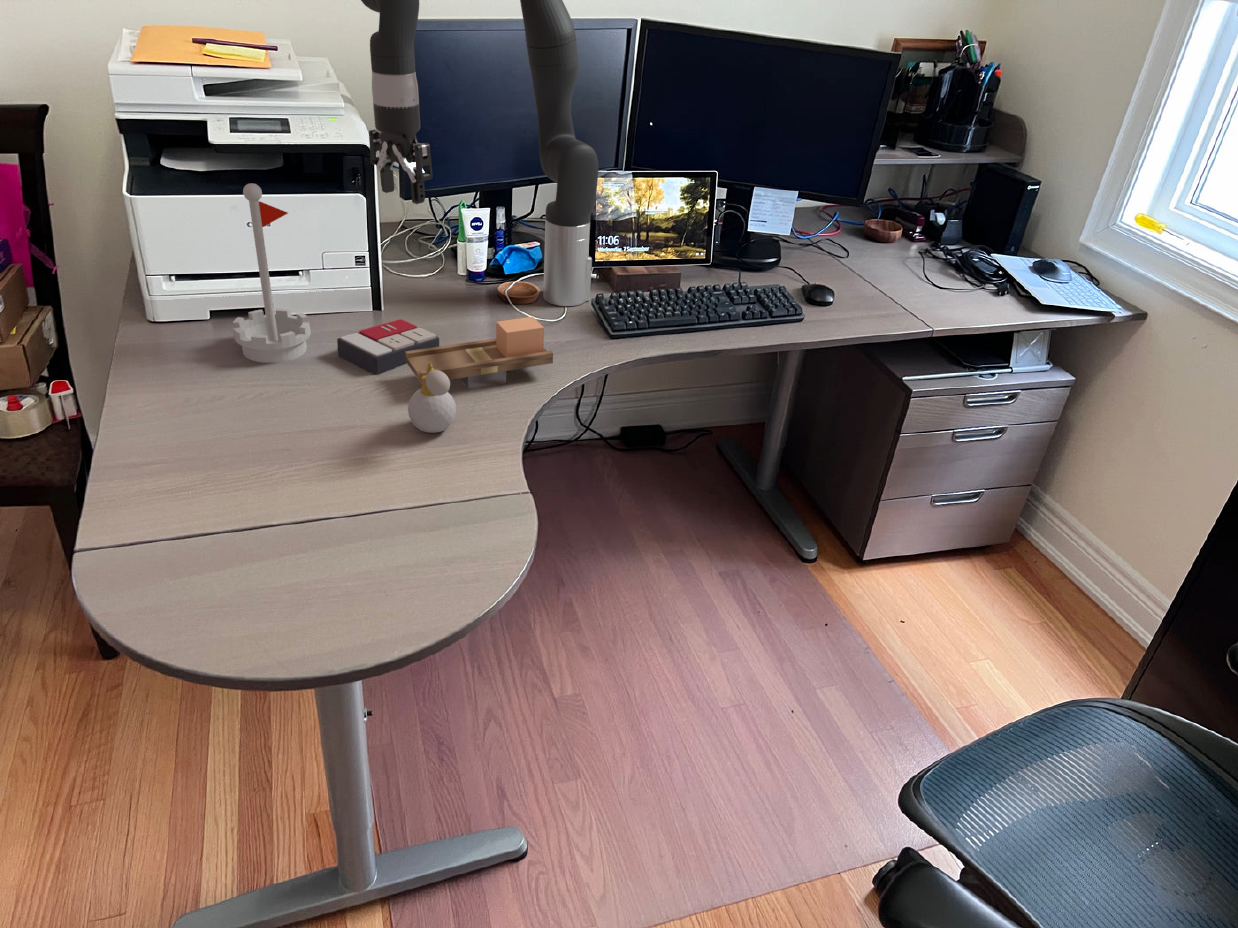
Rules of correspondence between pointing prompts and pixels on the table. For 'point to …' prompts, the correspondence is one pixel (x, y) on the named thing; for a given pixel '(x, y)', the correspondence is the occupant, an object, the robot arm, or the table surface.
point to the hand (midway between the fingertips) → (403, 197)
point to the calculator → (384, 345)
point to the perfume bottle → (432, 403)
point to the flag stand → (268, 302)
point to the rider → (519, 336)
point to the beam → (472, 362)
